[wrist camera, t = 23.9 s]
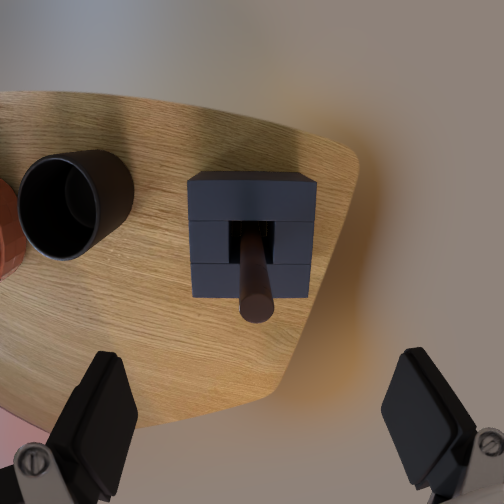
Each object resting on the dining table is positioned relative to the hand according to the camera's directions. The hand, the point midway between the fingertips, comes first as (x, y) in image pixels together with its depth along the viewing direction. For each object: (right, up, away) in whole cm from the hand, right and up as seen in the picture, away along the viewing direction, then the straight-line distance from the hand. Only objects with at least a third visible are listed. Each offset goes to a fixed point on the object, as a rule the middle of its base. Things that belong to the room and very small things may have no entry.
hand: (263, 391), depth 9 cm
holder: (-1, +8, +23) cm, 25 cm away
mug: (-19, +11, +22) cm, 31 cm away
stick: (-1, +8, +23) cm, 25 cm away
